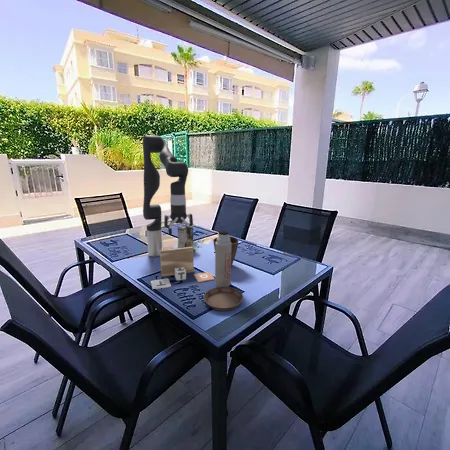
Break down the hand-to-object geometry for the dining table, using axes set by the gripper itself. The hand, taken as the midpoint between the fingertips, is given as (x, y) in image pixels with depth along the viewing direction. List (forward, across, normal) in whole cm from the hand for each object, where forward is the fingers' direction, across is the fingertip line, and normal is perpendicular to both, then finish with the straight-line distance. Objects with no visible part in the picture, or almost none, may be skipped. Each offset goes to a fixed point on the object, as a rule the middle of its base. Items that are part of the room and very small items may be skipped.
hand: (179, 234), depth 133 cm
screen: (+24, 0, -7) cm, 25 cm away
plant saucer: (+25, -13, +30) cm, 41 cm away
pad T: (+24, +11, +4) cm, 27 cm away
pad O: (+24, -12, +4) cm, 27 cm away
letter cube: (+24, 0, 0) cm, 24 cm away
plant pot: (+25, -29, -7) cm, 39 cm away
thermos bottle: (+25, -19, +14) cm, 34 cm away
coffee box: (+24, -13, -41) cm, 49 cm away
